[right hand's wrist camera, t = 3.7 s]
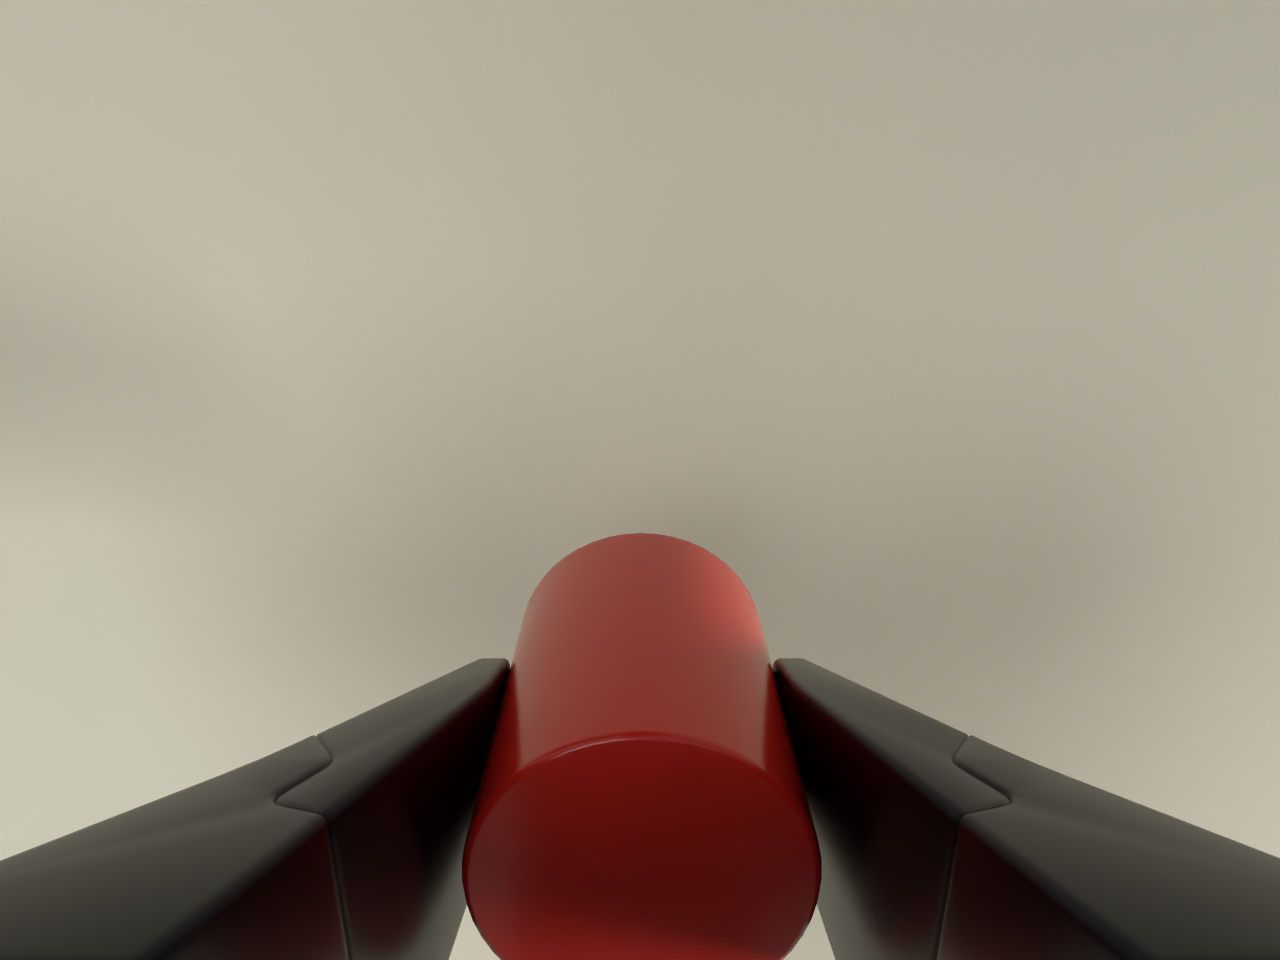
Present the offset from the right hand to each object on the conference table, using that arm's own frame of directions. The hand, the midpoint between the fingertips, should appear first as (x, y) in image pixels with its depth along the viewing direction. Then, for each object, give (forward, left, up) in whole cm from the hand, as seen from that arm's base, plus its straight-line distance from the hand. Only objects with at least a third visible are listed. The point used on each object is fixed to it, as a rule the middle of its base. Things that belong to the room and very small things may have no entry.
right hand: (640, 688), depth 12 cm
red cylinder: (0, 0, -1) cm, 1 cm away
